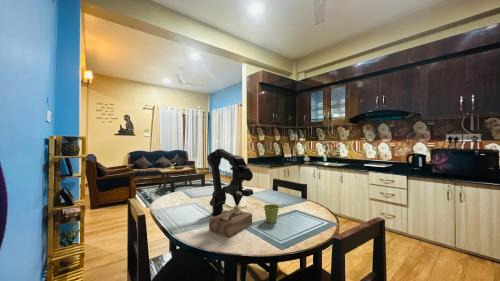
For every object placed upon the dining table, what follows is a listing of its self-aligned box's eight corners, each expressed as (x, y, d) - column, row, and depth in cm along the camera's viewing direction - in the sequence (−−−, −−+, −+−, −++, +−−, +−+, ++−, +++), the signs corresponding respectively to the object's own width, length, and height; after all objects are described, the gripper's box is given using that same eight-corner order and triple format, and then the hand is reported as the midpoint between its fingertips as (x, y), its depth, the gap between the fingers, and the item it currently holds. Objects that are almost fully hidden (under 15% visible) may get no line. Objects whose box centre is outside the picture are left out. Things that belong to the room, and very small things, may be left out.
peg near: (220, 221, 107) (220, 211, 107) (225, 219, 110) (225, 209, 111) (225, 223, 105) (225, 213, 105) (230, 220, 108) (230, 211, 108)
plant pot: (266, 225, 115) (266, 209, 115) (261, 219, 124) (261, 204, 124) (281, 223, 117) (281, 208, 117) (275, 217, 126) (275, 203, 126)
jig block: (209, 230, 108) (209, 219, 108) (233, 218, 124) (233, 208, 124) (229, 237, 100) (229, 225, 100) (252, 224, 116) (252, 213, 116)
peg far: (232, 215, 115) (232, 206, 115) (236, 213, 119) (236, 205, 119) (237, 217, 113) (237, 208, 113) (242, 215, 116) (242, 206, 116)
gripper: (215, 178, 115) (215, 206, 115) (241, 182, 104) (241, 213, 104) (228, 176, 124) (228, 201, 124) (253, 179, 113) (253, 207, 113)
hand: (237, 205), depth 116 cm, fingers closed
